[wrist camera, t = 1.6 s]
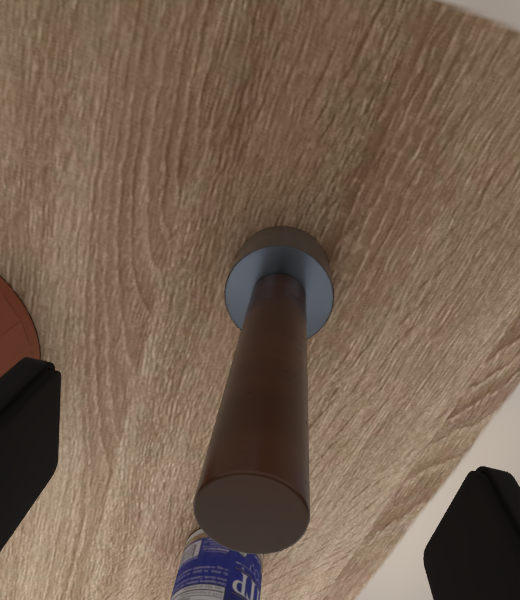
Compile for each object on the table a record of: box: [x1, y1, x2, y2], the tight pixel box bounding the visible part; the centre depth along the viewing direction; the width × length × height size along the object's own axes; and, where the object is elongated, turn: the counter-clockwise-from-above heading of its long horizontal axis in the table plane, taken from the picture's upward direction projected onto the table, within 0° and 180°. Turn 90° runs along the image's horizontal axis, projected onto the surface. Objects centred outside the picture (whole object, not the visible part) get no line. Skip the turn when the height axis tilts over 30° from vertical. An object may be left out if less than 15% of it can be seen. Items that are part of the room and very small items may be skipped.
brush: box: [193, 226, 334, 554], centre depth 14 cm, size 4×4×13 cm
